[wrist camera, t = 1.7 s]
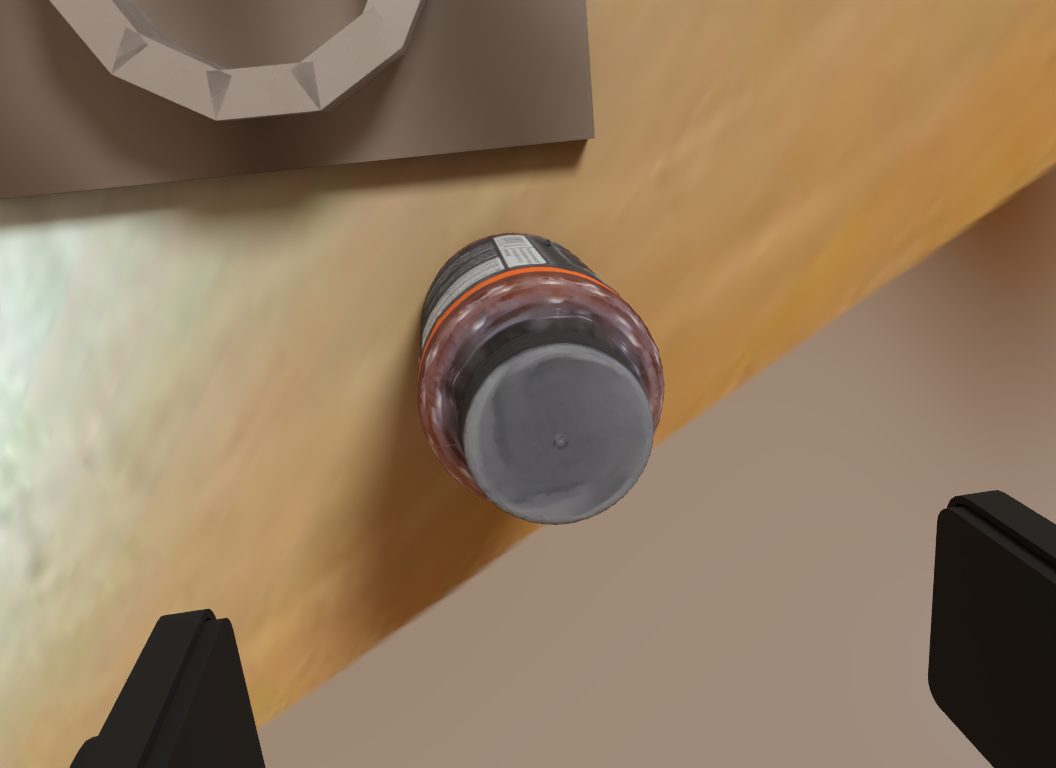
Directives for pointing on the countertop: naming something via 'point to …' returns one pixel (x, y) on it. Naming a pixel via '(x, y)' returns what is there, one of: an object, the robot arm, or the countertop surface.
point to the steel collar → (244, 93)
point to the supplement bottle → (536, 380)
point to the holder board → (294, 140)
